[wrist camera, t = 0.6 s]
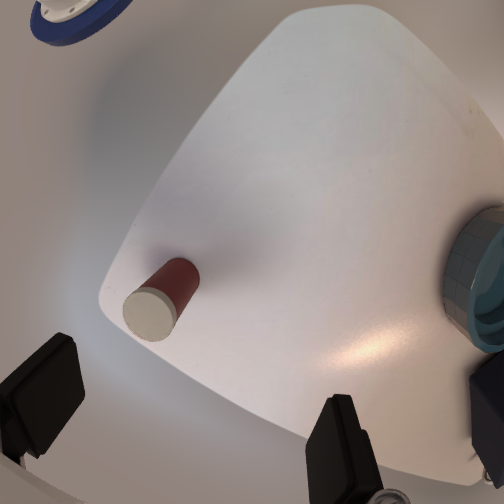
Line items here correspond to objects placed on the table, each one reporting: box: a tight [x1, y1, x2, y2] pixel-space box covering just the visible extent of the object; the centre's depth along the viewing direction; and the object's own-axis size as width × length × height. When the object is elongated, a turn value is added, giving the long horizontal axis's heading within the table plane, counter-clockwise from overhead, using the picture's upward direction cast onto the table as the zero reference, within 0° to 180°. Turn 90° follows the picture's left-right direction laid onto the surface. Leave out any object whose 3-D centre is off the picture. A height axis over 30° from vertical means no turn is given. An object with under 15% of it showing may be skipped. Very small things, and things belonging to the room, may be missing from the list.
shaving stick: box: [123, 258, 200, 341], centre depth 25 cm, size 4×4×9 cm
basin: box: [443, 207, 504, 352], centre depth 24 cm, size 15×15×6 cm
